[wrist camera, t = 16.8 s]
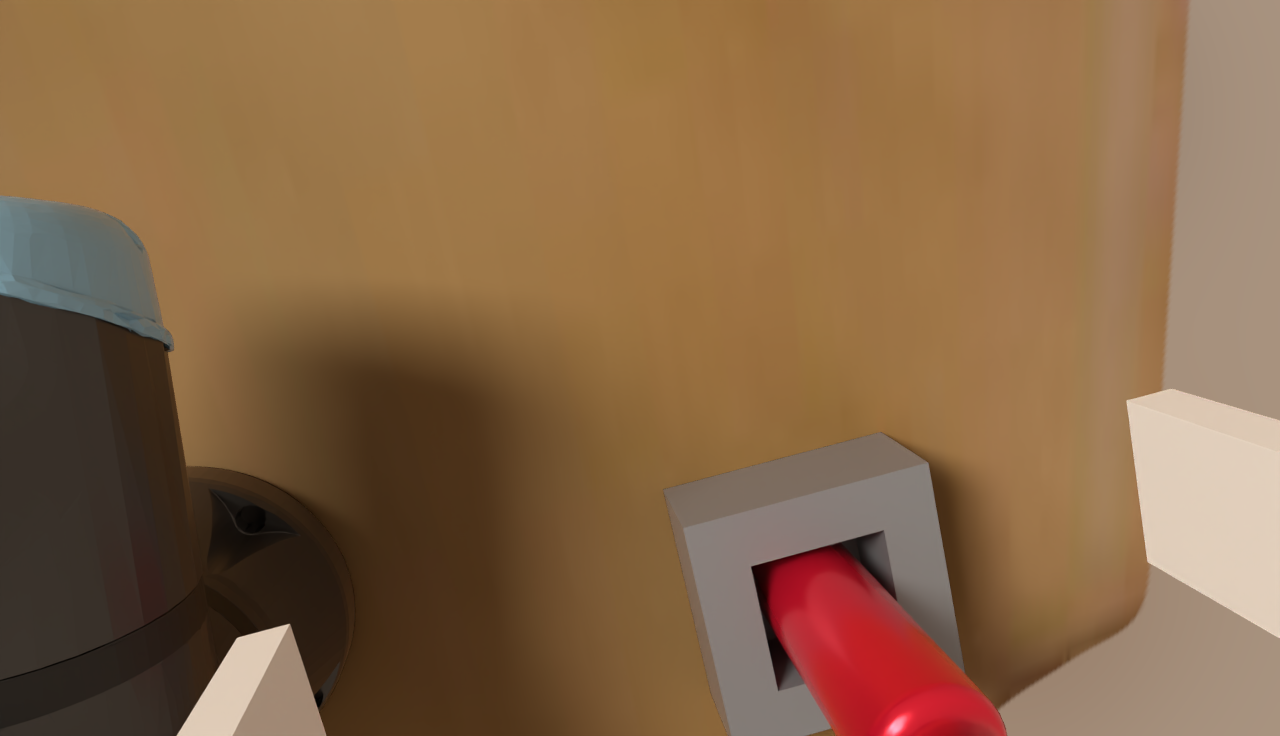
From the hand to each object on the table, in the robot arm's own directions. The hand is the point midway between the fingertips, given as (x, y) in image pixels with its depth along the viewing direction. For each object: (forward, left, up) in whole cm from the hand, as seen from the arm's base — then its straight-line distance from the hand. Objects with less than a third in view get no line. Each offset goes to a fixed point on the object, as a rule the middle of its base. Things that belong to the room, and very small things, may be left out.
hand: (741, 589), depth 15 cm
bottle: (+8, -16, -34) cm, 38 cm away
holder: (+8, -16, -35) cm, 39 cm away
